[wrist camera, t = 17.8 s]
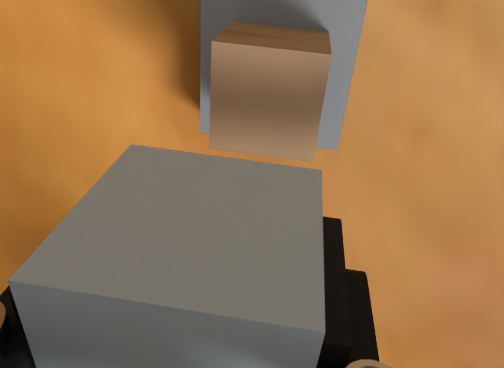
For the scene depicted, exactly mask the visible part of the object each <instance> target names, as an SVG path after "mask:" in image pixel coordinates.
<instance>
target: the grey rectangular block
mask: <svg viewBox="0 0 504 368" xmlns="http://www.w3.org/2000/svg"><path fill="white" fill-rule="evenodd" d="M366 5H367V0H201V14H200V133H207V134H209V130H210V89H211V47H212V40H213V39H215V38H216V37H217V36H218V35H219V34H220V33H221V32H222V31H223V30H224V29H225V28H226V27H227V26H228V25H229V24H230V23H231V22H232V21H237V22H246V23H255V24H265V25H274V26H283V27H292V28H302V29H311V30H320V31H329V36H330V44H331V52H332V57H331V63H330V68H329V74H328V80H327V85H326V91H325V96H324V102H323V108H322V113H321V119H320V125H319V130H318V136H317V141H316V147H319V148H327V149H336V150H337V148H338V143H339V138H340V133H341V128H342V123H343V118H344V113H345V109H346V104H347V99H348V94H349V89H350V84H351V79H352V74H353V69H354V64H355V59H356V54H357V49H358V44H359V39H360V35H361V30H362V25H363V20H364V15H365V10H366Z"/></svg>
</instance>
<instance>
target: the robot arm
mask: <svg viewBox="0 0 504 368" xmlns="http://www.w3.org/2000/svg"><path fill="white" fill-rule="evenodd" d="M323 252H324V295H325V336H324V340H323V343H322V347H321V351H320V355H319V358H318V362H317V366H316V368H391V367H390V366H388V365H386V364H384V363H382V362H379V355H378V349H377V342H376V335H375V328H374V322H373V315H372V308H371V301H370V294H369V288H368V281H367V276H366V273H365V272H363V271H356V270H349V269H345V258H344V247H343V235H342V223H341V219H337V218H329V217H323ZM0 368H36V365H35V362H34V359H33V356H32V353H31V350H30V347H29V344H28V341H27V338H26V335H25V332H24V329H23V326H22V323H21V319H20V316H19V313H18V310H17V307H16V304H15V301H14V298H13V295H12V292H11V289H10V286H8V288H7V289H6V290H5V291H4V292H3V293H2V294H1V295H0Z"/></svg>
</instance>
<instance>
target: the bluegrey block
mask: <svg viewBox="0 0 504 368" xmlns="http://www.w3.org/2000/svg"><path fill="white" fill-rule="evenodd" d="M8 283H9V286H10V289H11V292H12V295H13V298H14V301H15V304H16V307H17V310H18V313H19V316H20V319H21V323H22V326H23V329H24V332H25V335H26V338H27V341H28V344H29V347H30V350H31V353H32V356H33V359H34V362H35V365H36V368H316V366H317V362H318V358H319V355H320V351H321V347H322V343H323V340H324V336H325V295H324V252H323V210H322V170H317V169H309V168H302V167H294V166H287V165H280V164H272V163H265V162H257V161H250V160H243V159H235V158H228V157H220V156H213V155H206V154H198V153H191V152H183V151H176V150H169V149H161V148H154V147H146V146H139V145H130V146H129V147H128V148H127V150H126V151H125V152H124V153H123V154H122V155H121V156H120V157H119V158H118V159H117V161H116V162H115V163H114V164H113V165H112V166H111V167H110V168H109V169H108V170H107V172H106V173H105V174H104V175H103V176H102V177H101V178H100V179H99V180H98V181H97V182H96V184H95V185H94V186H93V187H92V188H91V189H90V190H89V191H88V192H87V193H86V195H85V196H84V197H83V198H82V199H81V200H80V201H79V202H78V203H77V204H76V206H75V207H74V208H73V209H72V210H71V211H70V212H69V213H68V214H67V215H66V217H65V218H64V219H63V220H62V221H61V222H60V223H59V224H58V225H57V226H56V227H55V229H54V230H53V231H52V232H51V233H50V234H49V235H48V236H47V237H46V238H45V240H44V241H43V242H42V243H41V244H40V245H39V246H38V247H37V248H36V249H35V251H34V252H33V253H32V254H31V255H30V256H29V257H28V258H27V259H26V260H25V262H24V263H23V264H22V265H21V266H20V267H19V268H18V269H17V270H16V271H15V273H14V274H13V275H12V276H11V277H10V278H9V279H8Z"/></svg>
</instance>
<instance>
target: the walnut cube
mask: <svg viewBox="0 0 504 368" xmlns="http://www.w3.org/2000/svg"><path fill="white" fill-rule="evenodd" d="M331 57H332V52H331V44H330V36H329V31H320V30H311V29H302V28H292V27H283V26H274V25H265V24H255V23H246V22H237V21H232V22H231V23H230V24H229V25H228V26H227V27H226V28H225V29H224V30H223V31H222V32H221V33H220V34H219V35H218V36H217V37H216V38H215V39H213V40H212V47H211V89H210V130H209V149H216V150H224V151H231V152H239V153H246V154H254V155H261V156H269V157H276V158H284V159H291V160H299V161H306V162H313V158H314V153H315V147H316V141H317V136H318V130H319V125H320V119H321V113H322V108H323V102H324V96H325V91H326V85H327V80H328V74H329V68H330V63H331Z"/></svg>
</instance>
